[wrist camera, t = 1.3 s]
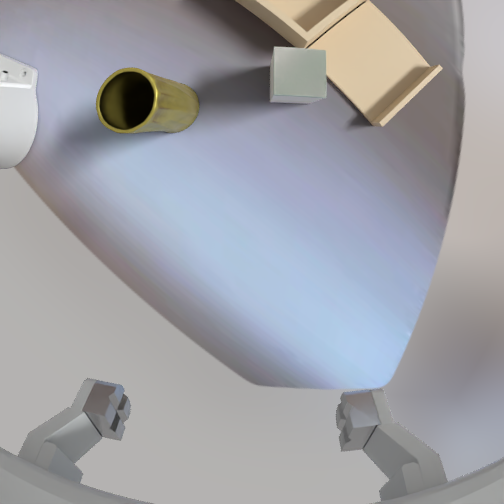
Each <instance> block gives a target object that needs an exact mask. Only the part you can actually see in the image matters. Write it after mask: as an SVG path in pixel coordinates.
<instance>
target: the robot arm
mask: <svg viewBox="0 0 504 504" xmlns="http://www.w3.org/2000/svg"><path fill="white" fill-rule="evenodd" d="M25 74H26V75H25ZM37 77H38V72H37V70H36V69H35V68H33V67H31V66H29V65H26V64H24V63H22V62H19V61H17V60H15V59H12V58H10V57H7V56H5V55H3V54H0V169H7V168H12V167H14V166H16V165H17V164H19V163H20V162H21V161H22V160H23V159H24V157H25V156H26V155H27V153H28V151H29V149H30V147H31V145H32V143H33V140H34V137H35V133H36V129H37V122H38V104H37V98H36V84H37ZM123 393H124V388H123V386H122V385H120V384H114V383H108V382H103V381H99V380H94V379H90V378H87V379H86V380H84V382H83V384H82V386H81V388H80V390H79V392H78V394H77V396H76V398H75V400H74V402H73V404H72V406H71V408H66V409H65V410H63V411H62V412H60V413H59V414H57V415H55V416H54V417H52V418H51V419H50V420H48V421H46V422H45V423H43V424H42V425H40V426H39V427H37V428H36V429H34V430H32V431H31V432H30V433H29V434H28V436H27V438H26V440H25V442H24V444H23V446H22V448H21V450H20V452H19V455H18V456H16V455H14V454H12V453H10V452H8V451H6V450H5V449H3V448H1V447H0V504H153V503H148V502H143V501H139V500H135V499H130V498H127V497H123V496H119V495H115V494H112V493H108V492H105V491H102V490H98V489H95V488H92V487H89V486H86V485H83V484H80V481H81V479H82V475H83V473H82V471H81V470H80V469H79V468H78V467H77V466H76V465H75V464H74V463H76V462H77V461H78V460H79V459H80V458H81V457H82V456H83V455H84V454H85V453H87V452H88V451H89V450H90V449H91V448H92V447H93V446H94V445H95V444H96V443H98V442H99V441H100V440H101V439H102V437H105V438H110V439H115V440H121V439H122V436H123V433H124V430H125V426H124V423H123V422H125V421H126V420H127V419H128V418H129V415H130V407H131V405H130V401H129V399H128V397H127V396H126V395H125V394H123ZM336 423H337V428H338V429H339V430H341V434H340V436H339V441H340V446H341V451H351V450H360V449H363V451H364V452H365V453H366V454H367V455H368V457H369V458H370V459H371V460H372V461H373V462H374V463H375V464H376V465H377V466H378V467H379V468H380V470H381V471H382V472H383V473H384V474H385V475H386V476H387V477H388V478H389V479H390V480H389V481H388V482H387V483H386V484H385V485H384V486H383V487H382V488H381V489H380V491H379V492H380V498H381V502H376V503H371V504H504V457H503V458H501V459H499V460H497V461H495V462H493V463H491V464H489V465H487V466H485V467H482V468H480V469H478V470H476V471H473V472H471V473H469V474H466V475H464V476H461V477H459V478H456V479H454V480H451V481H449V482H448V481H447V478H446V475H445V472H444V469H443V466H442V463H441V460H440V457H439V454H437V453H436V452H435V451H434V450H433V449H431V448H430V447H429V446H427V445H426V444H425V443H424V442H422V441H421V440H420V439H419V438H417V437H416V436H415V435H414V434H412V433H411V432H410V431H409V430H407V429H406V428H405V427H403V426H402V425H401V424H400V423H399V422H394V419H393V416H392V413H391V411H390V407H389V405H388V402H387V398H386V395H385V393H384V390H383V389H382V388H379V389H372V390H361V391H352V392H344V393H342V395H341V403H340V404H339V405H338V407H337V410H336Z"/></svg>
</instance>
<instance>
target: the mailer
mask: <svg viewBox="0 0 504 504" xmlns="http://www.w3.org/2000/svg"><path fill="white" fill-rule="evenodd" d="M235 1H236V2H238V3H239V4H241V5H242V6H243V7H245V8H246V9H248V10H249V11H250V12H252V13H253V14H254V15H256V16H257V17H258V18H260V19H261V20H262V21H264V22H265V23H266V24H267V25H269V26H270V27H271V28H273V29H274V30H275V31H276V32H277V33H279V34H280V35H281V36H282V37H284V38H285V39H286V40H287V41H288V42H289V43H291V44H292V45H293V46H294V47H295V48H307V47H308V46H309V45H310V44H311V43H313V42H314V41H315V40H316V39H317V38H319V37H320V36H321V35H322V34H323V33H325V32H326V31H327V30H328V29H329V28H331V27H332V26H333V25H334V24H336V23H337V22H338V21H339V20H341V19H342V18H343V17H344V16H346V15H347V14H348V13H350V12H351V11H352V10H354V9H355V8H356V7H358V6H359V5H360V4H362V3H363V2H364V1H366V0H235ZM308 49H318V50H326V76H327V77H328V78H329V79H330V80H331V81H332V82H333V83H334V84H335V85H336V86H337V87H338V88H339V89H340V90H341V91H342V92H343V93H344V95H345V96H346V97H347V98H348V99H349V100H350V101H351V102H352V103H353V104H354V105H355V106H356V107H357V108H358V110H359V111H360V112H361V113H362V114H363V115H364V116H365V117H366V119H367V120H368V121H369V122H370V123H371V124H372V125H373V126H379V127H383V126H384V125H385V124H386V123H387V122H388V121H389V120H390V119H391V118H392V117H393V116H394V115H395V114H396V113H397V112H398V111H399V110H400V109H401V108H402V107H403V106H404V105H405V104H406V103H408V102H409V101H410V100H411V99H412V98H413V97H414V96H415V95H416V94H417V93H418V92H419V91H420V90H421V89H422V88H423V87H424V86H425V85H426V84H427V83H428V82H429V81H430V80H431V79H432V78H433V77H434V76H435V75H436V74H437V73H438V72H440V71H441V70H442V69H443V68H442V67H441V66H440V65H436V66H432V67H430V66H429V65H428V64H427V62H426V61H425V60H424V59H423V57H422V56H421V55H420V54H419V52H418V51H417V50H416V49H415V48H414V47H413V45H412V44H411V43H410V42H409V41H408V40H407V39H406V37H405V36H404V35H403V34H402V33H401V32H400V31H399V30H398V29H397V28H396V27H395V26H394V25H393V23H392V22H391V21H390V20H389V19H388V18H387V17H386V16H385V15H384V14H383V13H382V12H381V11H380V10H379V9H378V8H376V7H375V6H374V5H373V4H372V3H371V2H370V1H369V0H368V1H366V2H365V3H364V4H362V5H361V6H360V7H358V8H357V9H356V10H354V11H353V12H352V13H350V14H349V15H348V16H347V17H345V18H344V19H343V20H341V21H340V22H339V23H338V24H336V25H335V26H334V27H333V28H331V29H330V30H329V31H328V32H327V33H325V34H324V35H323V36H322V37H321V38H319V39H318V40H317V41H316V42H315V43H313V44H312V45H311V46H310V47H309V48H308Z"/></svg>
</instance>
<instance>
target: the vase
mask: <svg viewBox="0 0 504 504" xmlns="http://www.w3.org/2000/svg"><path fill="white" fill-rule="evenodd" d="M96 109H97V114H98V117H99V119H100V121H101V122H102V124H103V125H104V126H105V127H107V128H108V129H110V130H112V131H114V132H116V133H142V132H150V131H165V132H168V133H176V132H180V131H183V130H185V129H186V128H188V127H189V126H190V125H191V124H192V123H193V122H194V120H195V119H196V117H197V115H198V112H199V100H198V97H197V95H196V93H195V92H194V91H193V90H192V89H191V88H190V87H188V86H187V85H185V84H181V83H178V82H175V81H172V80H169V79H165V78H162V77H159V76H156V75H153V74H150V73H147V72H145V71H143V70H141V69H138V68H124V69H120V70H118V71H116V72H114V73H113V74H112V75H110V76H109V77H108V78H107V79H106V80H105V82H104V83H103V84H102V86H101V88H100V90H99V92H98V95H97V99H96Z"/></svg>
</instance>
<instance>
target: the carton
mask: <svg viewBox="0 0 504 504" xmlns="http://www.w3.org/2000/svg"><path fill="white" fill-rule="evenodd" d="M324 98H326V50H318V49H307V48H293V47H274V51H273V55H272V60H271V64H270V102H279V103H301V104H311V103H313V102H316V101H318V100H321V99H324Z"/></svg>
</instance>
